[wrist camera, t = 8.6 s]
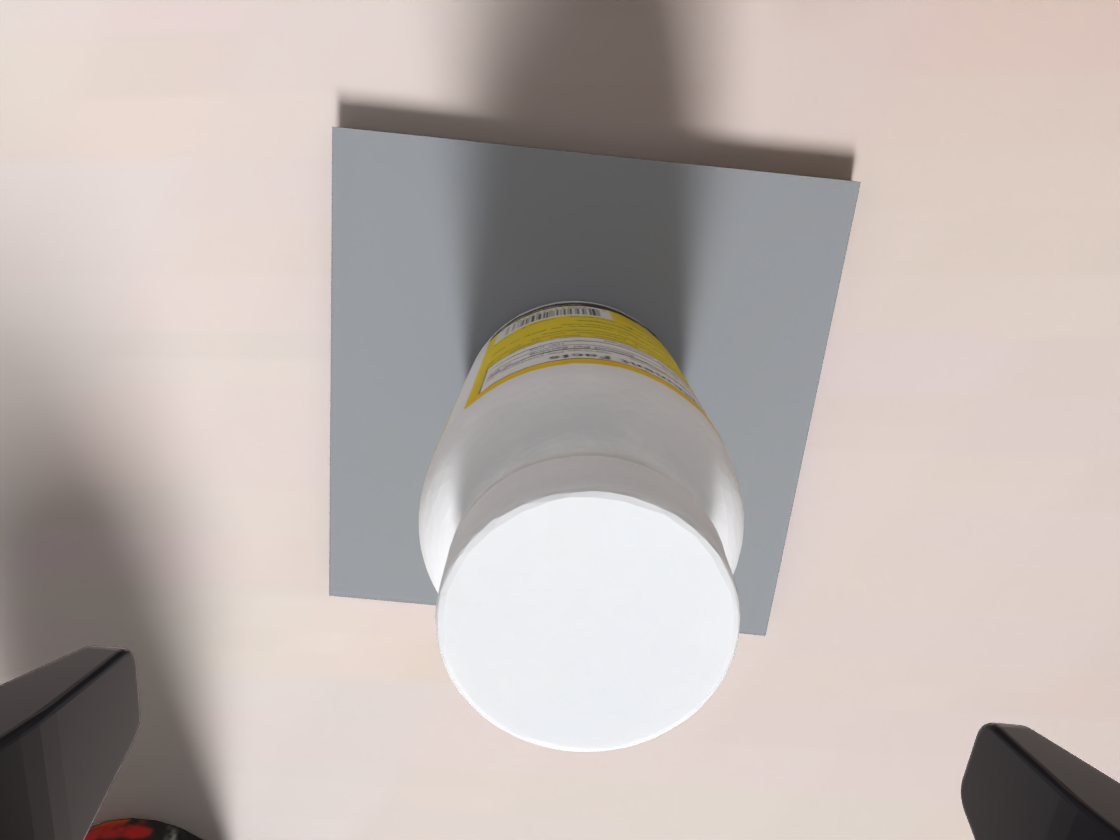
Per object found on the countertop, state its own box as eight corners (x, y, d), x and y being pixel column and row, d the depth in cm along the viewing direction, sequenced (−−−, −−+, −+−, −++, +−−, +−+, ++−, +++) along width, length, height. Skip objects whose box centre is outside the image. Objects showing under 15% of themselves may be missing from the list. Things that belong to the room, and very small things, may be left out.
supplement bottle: (594, 541, 20) (617, 859, 11) (424, 424, 19) (292, 664, 10) (729, 384, 19) (884, 595, 10) (552, 249, 18) (536, 341, 9)
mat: (759, 623, 22) (765, 635, 21) (335, 584, 21) (329, 595, 21) (851, 181, 18) (860, 181, 17) (340, 128, 18) (332, 126, 17)
